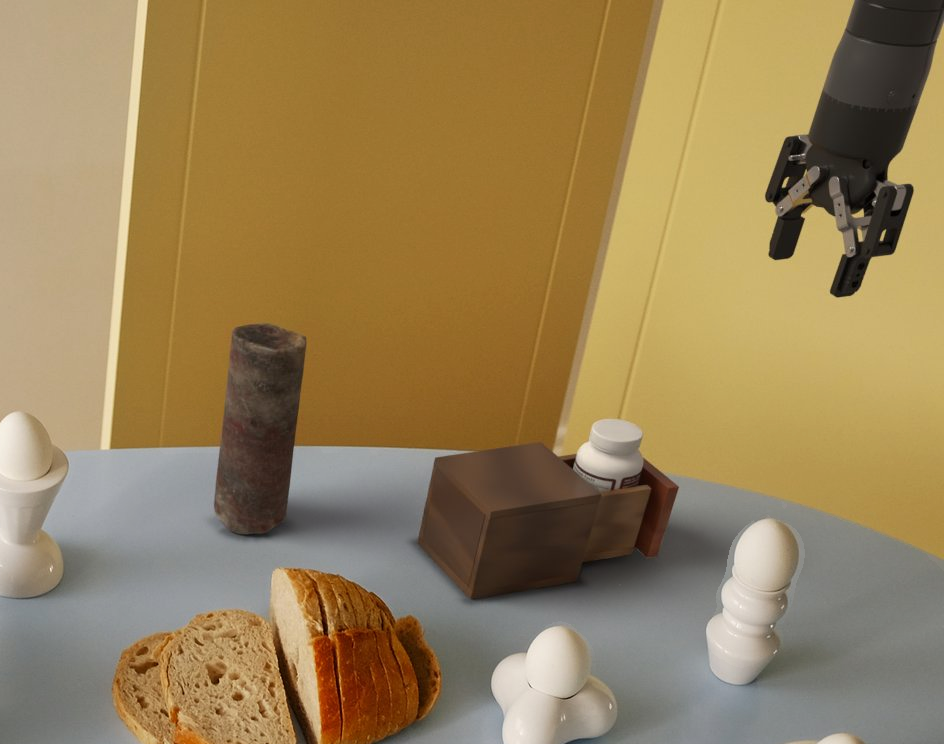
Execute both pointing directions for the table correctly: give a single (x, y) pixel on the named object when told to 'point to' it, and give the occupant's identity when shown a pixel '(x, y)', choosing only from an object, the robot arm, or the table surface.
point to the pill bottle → (611, 455)
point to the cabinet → (507, 519)
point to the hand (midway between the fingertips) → (809, 276)
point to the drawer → (631, 516)
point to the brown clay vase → (259, 427)
